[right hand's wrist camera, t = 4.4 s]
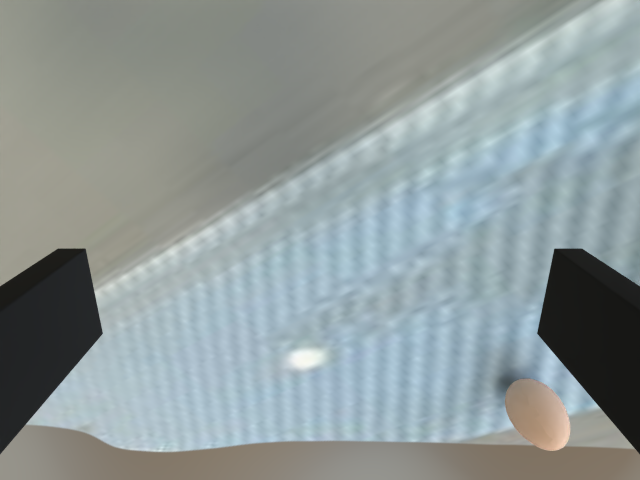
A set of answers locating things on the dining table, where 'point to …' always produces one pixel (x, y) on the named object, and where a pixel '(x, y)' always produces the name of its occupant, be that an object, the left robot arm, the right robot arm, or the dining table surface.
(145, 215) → the dining table surface
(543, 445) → the egg
